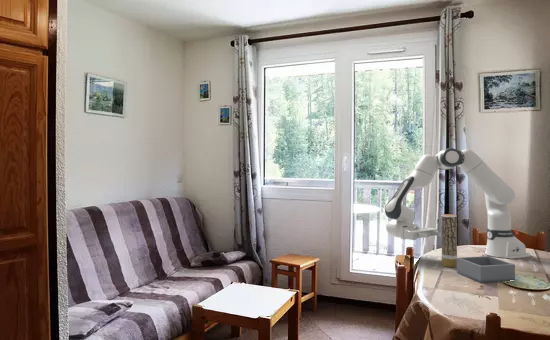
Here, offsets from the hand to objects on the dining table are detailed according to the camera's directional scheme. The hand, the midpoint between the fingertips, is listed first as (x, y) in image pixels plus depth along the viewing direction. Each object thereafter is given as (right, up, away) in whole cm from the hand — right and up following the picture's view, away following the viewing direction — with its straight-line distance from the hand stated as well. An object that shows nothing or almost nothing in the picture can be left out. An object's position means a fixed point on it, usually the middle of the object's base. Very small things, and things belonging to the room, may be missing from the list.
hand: (433, 235), depth 195 cm
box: (+12, -14, -26) cm, 32 cm away
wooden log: (+5, -14, -7) cm, 17 cm away
